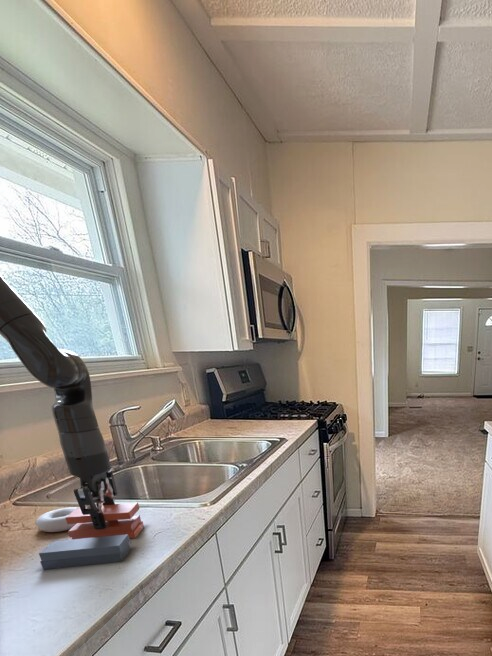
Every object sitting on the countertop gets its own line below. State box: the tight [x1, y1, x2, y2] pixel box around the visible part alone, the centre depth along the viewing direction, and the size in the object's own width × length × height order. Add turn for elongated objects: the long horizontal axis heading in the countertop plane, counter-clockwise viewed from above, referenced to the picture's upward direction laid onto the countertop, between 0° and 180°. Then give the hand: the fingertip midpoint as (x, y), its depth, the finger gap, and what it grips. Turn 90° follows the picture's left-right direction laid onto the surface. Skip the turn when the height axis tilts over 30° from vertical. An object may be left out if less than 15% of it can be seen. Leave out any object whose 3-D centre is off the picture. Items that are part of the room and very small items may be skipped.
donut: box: [35, 507, 78, 533], centre depth 97 cm, size 10×3×10 cm
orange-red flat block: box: [67, 514, 145, 540], centre depth 92 cm, size 13×6×3 cm, turn 103°
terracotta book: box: [66, 502, 140, 524], centre depth 91 cm, size 12×6×2 cm, turn 103°
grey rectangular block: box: [38, 534, 131, 570], centre depth 82 cm, size 14×5×4 cm, turn 103°
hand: (106, 522), depth 92 cm, fingers closed on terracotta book, 6 cm apart
